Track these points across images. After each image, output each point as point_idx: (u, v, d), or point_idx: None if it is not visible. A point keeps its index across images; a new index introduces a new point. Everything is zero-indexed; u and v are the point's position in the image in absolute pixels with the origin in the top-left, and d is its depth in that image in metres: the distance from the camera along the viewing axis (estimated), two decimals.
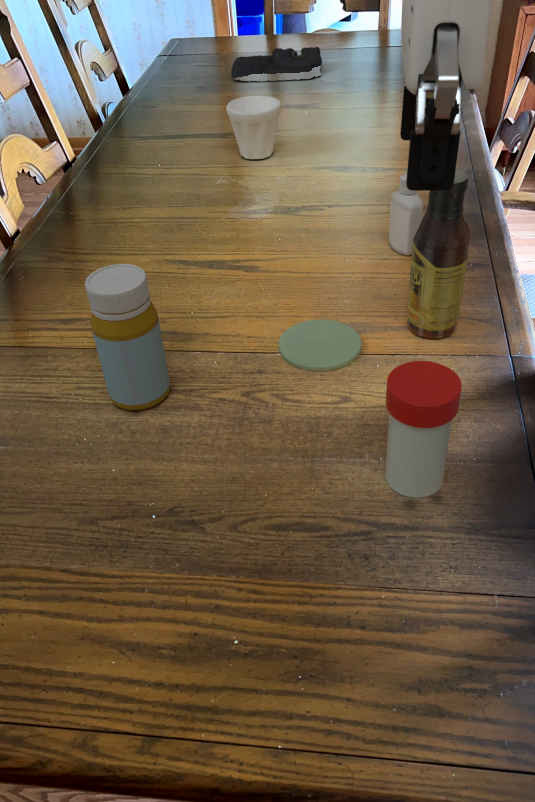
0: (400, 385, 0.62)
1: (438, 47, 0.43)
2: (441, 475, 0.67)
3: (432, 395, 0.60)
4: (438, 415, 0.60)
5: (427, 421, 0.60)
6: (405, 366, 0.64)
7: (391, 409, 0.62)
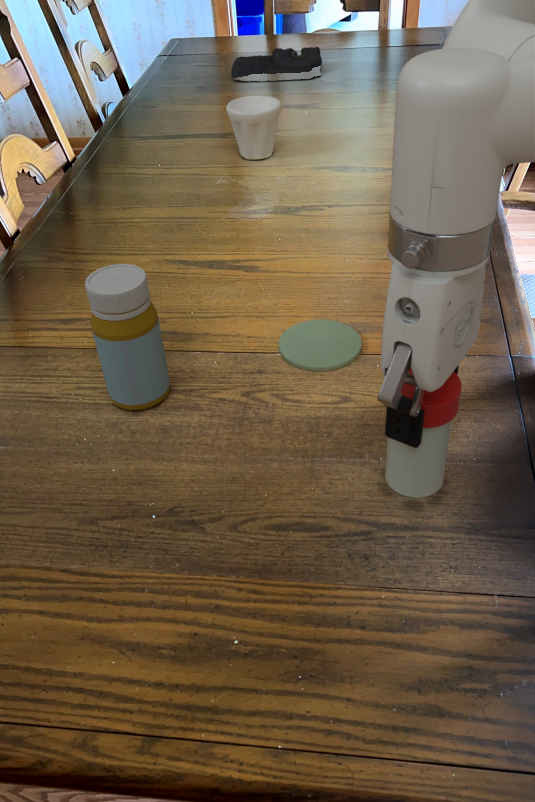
0: None
1: (390, 366, 0.55)
2: (441, 475, 0.67)
3: (432, 395, 0.60)
4: (438, 415, 0.60)
5: (427, 421, 0.60)
6: None
7: None
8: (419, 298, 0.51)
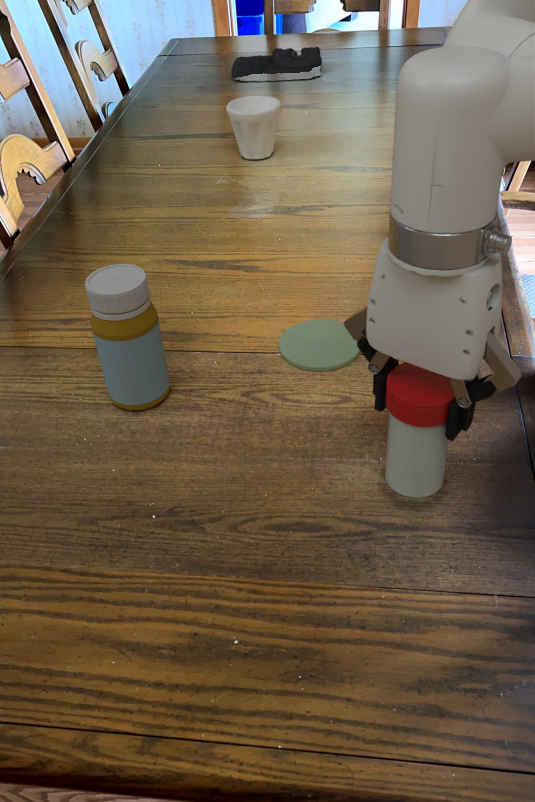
0: (429, 397, 0.60)
1: (497, 355, 0.55)
2: (441, 475, 0.67)
3: (444, 378, 0.62)
4: None
5: None
6: (397, 391, 0.61)
7: (441, 419, 0.61)
8: (499, 277, 0.53)
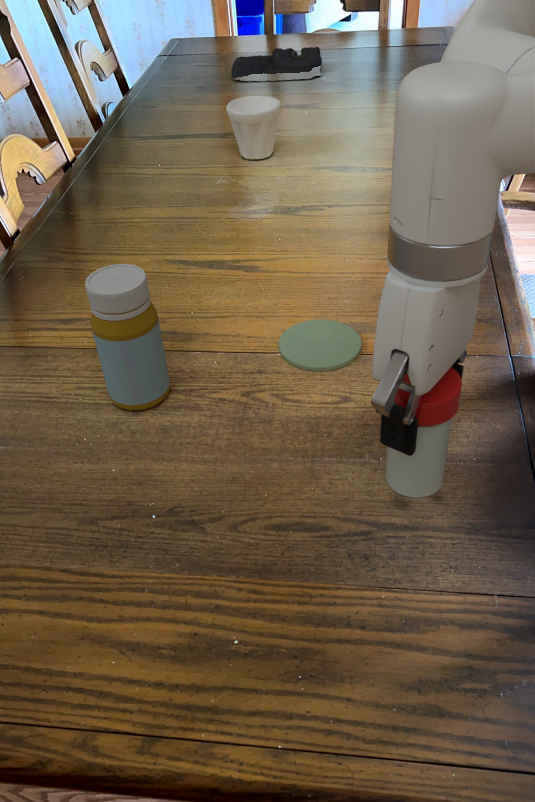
0: (448, 377, 0.62)
1: None
2: (441, 475, 0.67)
3: None
4: None
5: None
6: (443, 397, 0.60)
7: None
8: None
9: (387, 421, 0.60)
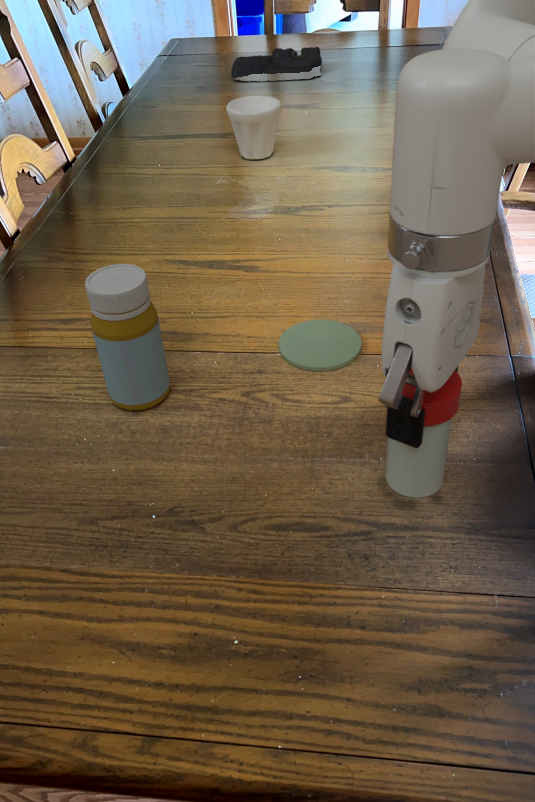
0: None
1: (390, 367, 0.55)
2: (441, 475, 0.67)
3: None
4: None
5: None
6: (443, 397, 0.60)
7: None
8: (420, 299, 0.51)
9: None
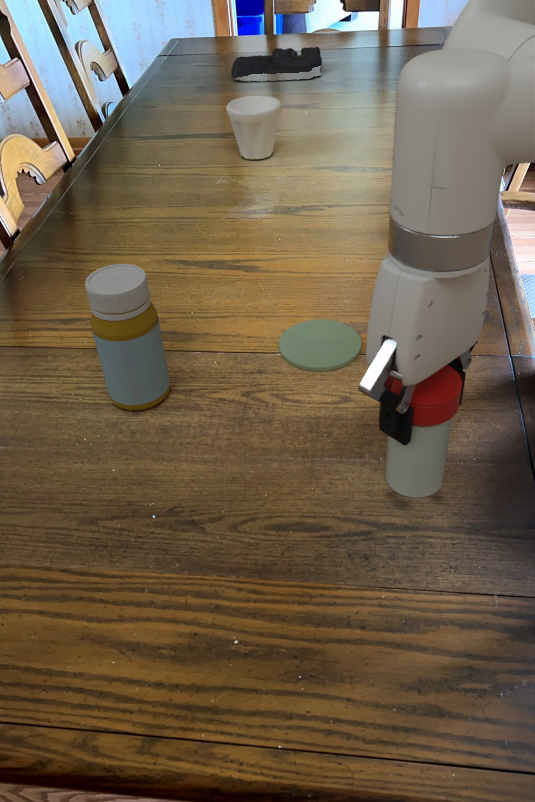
0: None
1: None
2: (441, 475, 0.67)
3: (426, 393, 0.60)
4: (428, 414, 0.60)
5: (417, 418, 0.60)
6: None
7: None
8: None
9: (383, 407, 0.60)
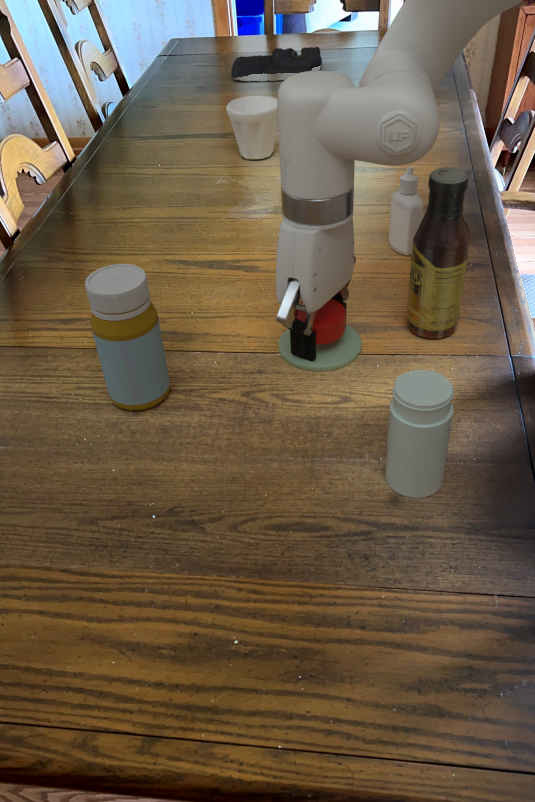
0: (300, 313, 0.83)
1: None
2: (441, 475, 0.67)
3: (322, 320, 0.82)
4: (326, 334, 0.82)
5: (318, 339, 0.82)
6: None
7: None
8: None
9: (293, 334, 0.82)
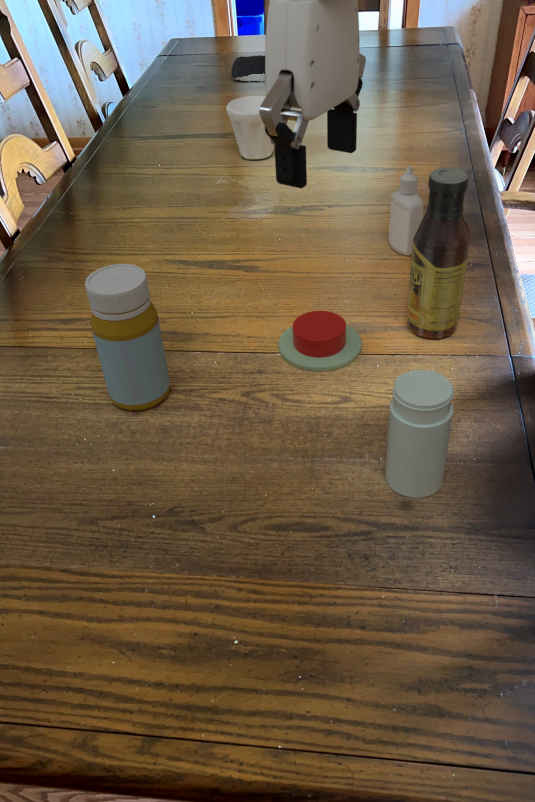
0: (301, 326, 0.85)
1: None
2: (441, 475, 0.67)
3: (323, 333, 0.83)
4: (327, 347, 0.83)
5: (319, 352, 0.83)
6: (308, 314, 0.87)
7: (295, 344, 0.85)
8: None
9: (278, 151, 0.67)
